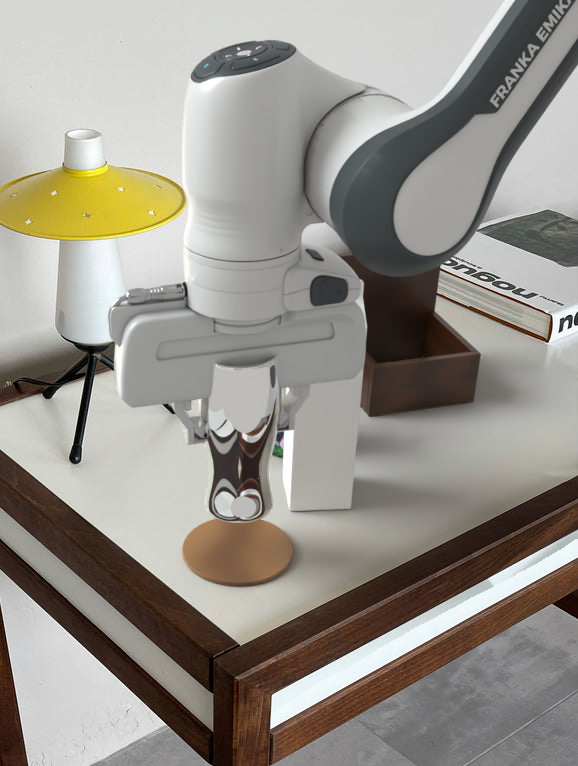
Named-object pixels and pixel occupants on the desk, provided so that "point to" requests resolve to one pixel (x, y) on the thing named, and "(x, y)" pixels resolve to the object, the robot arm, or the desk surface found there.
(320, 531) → the desk surface
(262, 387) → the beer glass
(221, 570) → the coaster
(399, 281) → the cubby
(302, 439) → the milk
